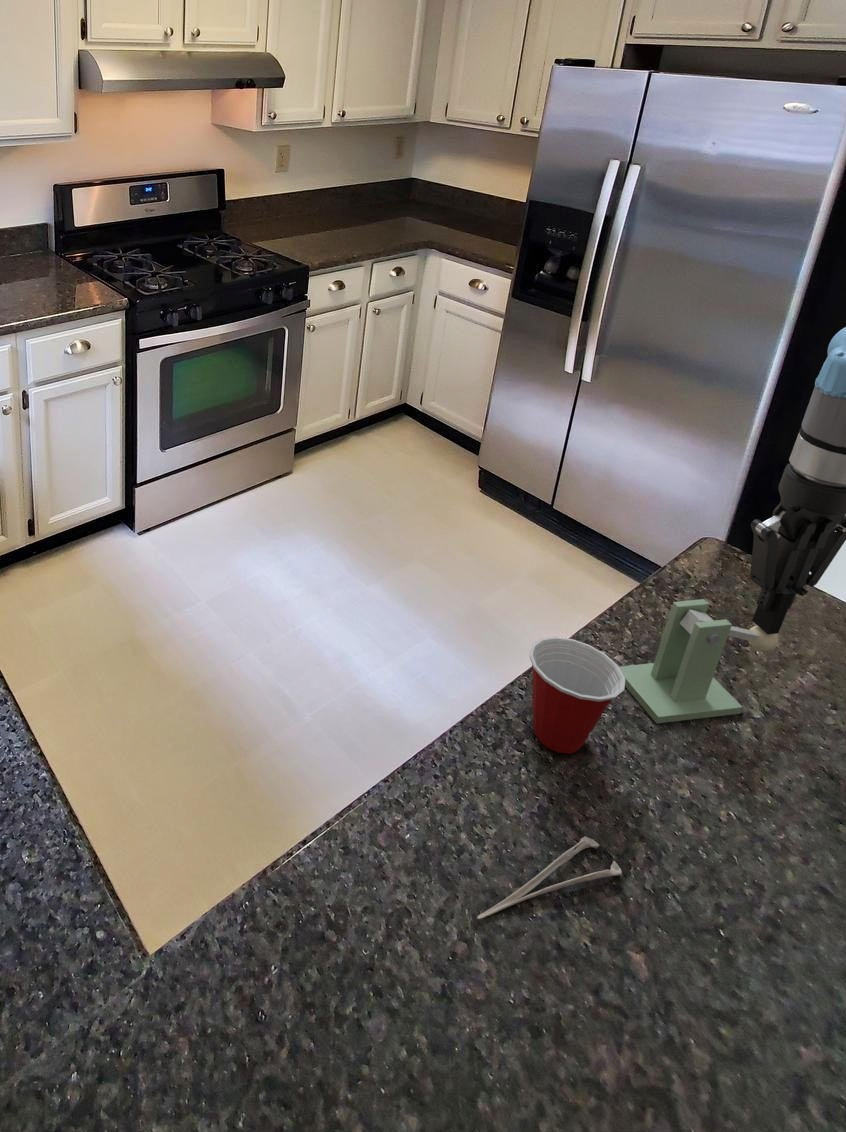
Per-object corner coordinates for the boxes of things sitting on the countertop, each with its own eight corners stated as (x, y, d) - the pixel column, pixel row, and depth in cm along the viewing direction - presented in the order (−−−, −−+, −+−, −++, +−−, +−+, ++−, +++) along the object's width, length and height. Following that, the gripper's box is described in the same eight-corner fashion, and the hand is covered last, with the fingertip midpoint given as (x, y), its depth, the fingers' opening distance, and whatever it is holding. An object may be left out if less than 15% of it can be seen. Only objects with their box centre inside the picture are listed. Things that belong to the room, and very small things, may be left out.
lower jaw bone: (588, 839, 89) (591, 828, 88) (623, 878, 85) (627, 866, 84) (460, 905, 84) (462, 893, 83) (491, 949, 80) (494, 938, 79)
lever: (755, 641, 108) (769, 622, 107) (774, 659, 105) (790, 639, 104) (673, 623, 105) (688, 603, 104) (692, 641, 102) (706, 620, 100)
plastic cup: (625, 751, 100) (647, 678, 94) (563, 783, 95) (583, 710, 90) (554, 692, 108) (572, 623, 103) (495, 719, 104) (510, 649, 99)
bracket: (692, 664, 113) (719, 586, 107) (740, 713, 105) (772, 632, 99) (613, 673, 111) (636, 594, 106) (656, 723, 103) (683, 641, 98)
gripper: (846, 453, 99) (786, 604, 109) (751, 460, 97) (699, 612, 108) (903, 484, 92) (833, 642, 102) (801, 493, 91) (741, 651, 101)
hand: (765, 626), depth 105 cm, fingers closed
